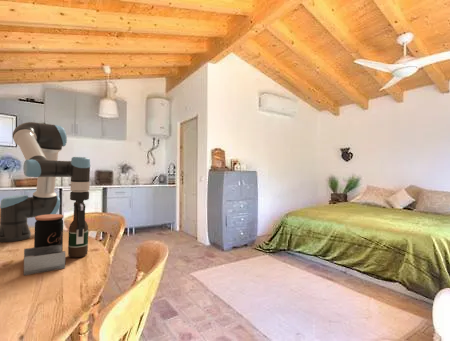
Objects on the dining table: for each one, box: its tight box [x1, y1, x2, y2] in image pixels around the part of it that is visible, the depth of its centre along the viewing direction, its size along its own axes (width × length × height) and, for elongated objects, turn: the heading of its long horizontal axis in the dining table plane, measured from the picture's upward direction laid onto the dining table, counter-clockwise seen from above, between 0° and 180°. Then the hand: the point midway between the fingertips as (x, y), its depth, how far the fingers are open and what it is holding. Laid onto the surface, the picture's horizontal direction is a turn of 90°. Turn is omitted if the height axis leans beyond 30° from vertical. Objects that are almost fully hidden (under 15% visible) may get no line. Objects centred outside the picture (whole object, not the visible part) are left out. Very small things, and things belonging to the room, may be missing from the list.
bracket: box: [23, 244, 66, 276], centre depth 105 cm, size 13×13×6 cm
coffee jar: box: [33, 213, 64, 251], centre depth 117 cm, size 11×11×18 cm
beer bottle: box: [67, 201, 89, 258], centre depth 118 cm, size 8×8×24 cm
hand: (78, 241), depth 118 cm, fingers closed on beer bottle, 7 cm apart
